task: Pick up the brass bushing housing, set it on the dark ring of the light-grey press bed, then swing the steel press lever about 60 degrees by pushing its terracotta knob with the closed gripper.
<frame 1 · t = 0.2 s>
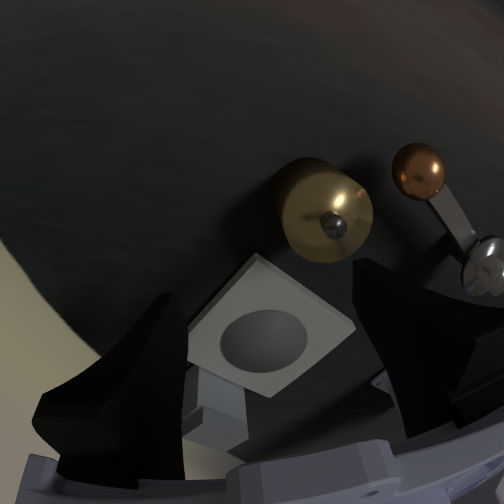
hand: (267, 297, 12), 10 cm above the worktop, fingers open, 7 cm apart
pivot post: (453, 239, 23), on the worktop
housing: (308, 193, 21), on the worktop
press bed: (263, 333, 26), on the worktop
lever: (443, 204, 18), point 3 cm above the worktop, hinge at 0.0°
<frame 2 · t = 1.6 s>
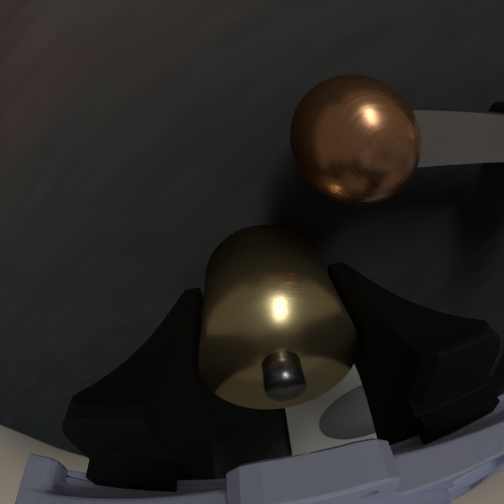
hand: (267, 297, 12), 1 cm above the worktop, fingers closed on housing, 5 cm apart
pivot post: (501, 124, 11), on the worktop
housing: (263, 278, 14), on the worktop, touching gripper
press bed: (365, 397, 19), on the worktop
lever: (448, 134, 8), point 3 cm above the worktop, hinge at 0.0°
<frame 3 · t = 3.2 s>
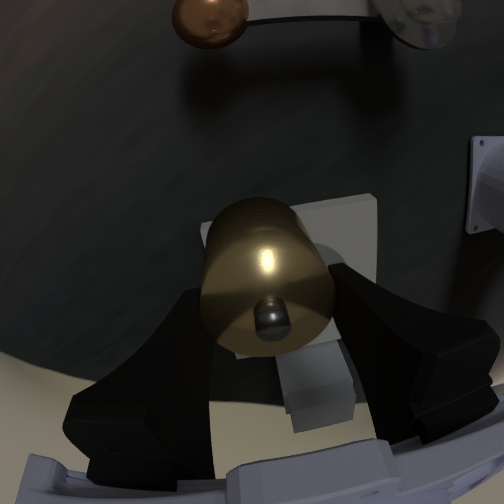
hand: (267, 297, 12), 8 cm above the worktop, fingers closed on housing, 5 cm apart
pivot post: (376, 20, 14), on the worktop
housing: (256, 245, 16), point 4 cm above the worktop, touching gripper
press bed: (297, 280, 22), on the worktop
lever: (280, 5, 11), point 4 cm above the worktop, hinge at 0.0°
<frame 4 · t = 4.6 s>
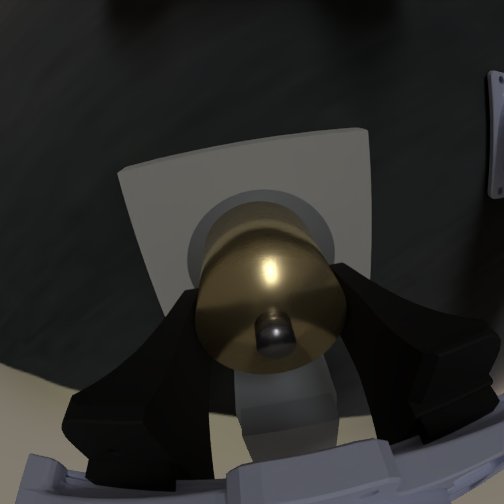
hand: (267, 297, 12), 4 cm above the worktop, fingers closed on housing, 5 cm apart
housing: (258, 253, 14), point 1 cm above the worktop, touching gripper, press bed
press bed: (259, 250, 16), on the worktop
when the fingers open (4 cm above the worktop, at t = 5.1 s): housing stays where it is, resting on press bed.
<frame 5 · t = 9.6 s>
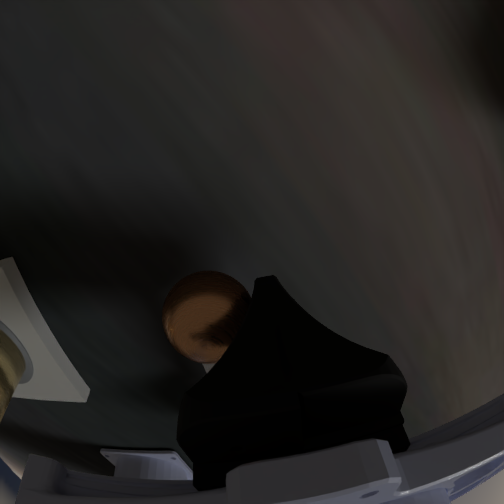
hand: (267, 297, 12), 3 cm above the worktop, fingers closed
press bed: (1, 336, 16), on the worktop
lever: (229, 371, 13), point 4 cm above the worktop, hinge at 2.2°, touching gripper
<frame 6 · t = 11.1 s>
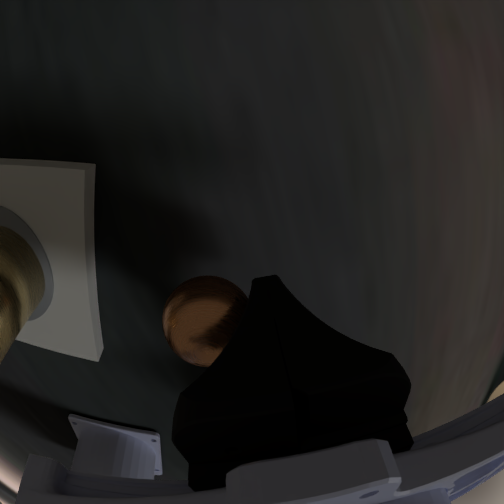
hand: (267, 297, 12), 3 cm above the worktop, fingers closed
housing: (8, 269, 13), point 1 cm above the worktop, touching press bed
press bed: (13, 255, 14), on the worktop
lever: (241, 370, 13), point 4 cm above the worktop, hinge at 33.9°, touching gripper
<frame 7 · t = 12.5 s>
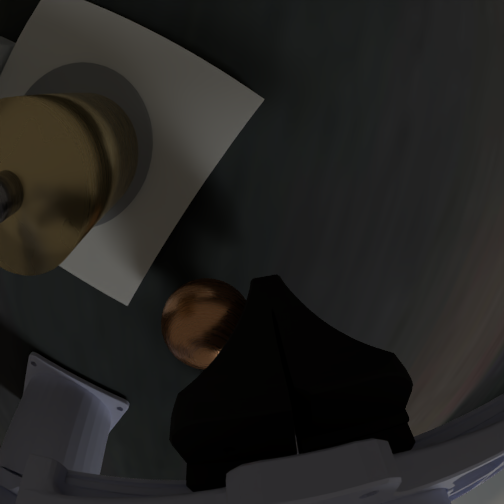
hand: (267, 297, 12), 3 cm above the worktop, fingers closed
housing: (80, 154, 11), point 1 cm above the worktop, touching press bed
press bed: (84, 142, 12), on the worktop
lever: (242, 372, 13), point 4 cm above the worktop, hinge at 60.0°, touching gripper
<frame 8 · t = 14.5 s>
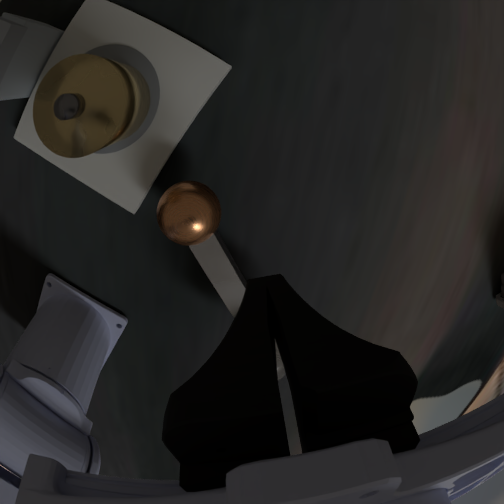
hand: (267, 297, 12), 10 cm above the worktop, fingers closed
housing: (111, 102, 16), point 1 cm above the worktop, touching press bed
press bed: (111, 98, 17), on the worktop
lever: (215, 259, 19), point 3 cm above the worktop, hinge at 60.7°
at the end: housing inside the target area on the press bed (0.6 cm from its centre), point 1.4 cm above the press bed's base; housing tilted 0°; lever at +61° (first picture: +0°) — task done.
